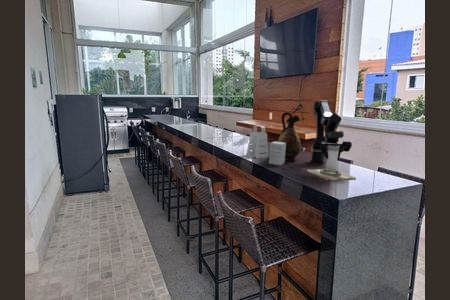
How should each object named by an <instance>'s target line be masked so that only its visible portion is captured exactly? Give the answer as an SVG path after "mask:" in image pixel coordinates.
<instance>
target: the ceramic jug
mask: <svg viewBox="0 0 450 300" xmlns="http://www.w3.org/2000/svg"><path fill="white" fill-rule="evenodd" d="M286 116H289V117H288V118H287V120H286V122H285V117H286ZM301 121H302V120H301V118H300V116H298V115H296V114H295V115H293V114H292V112H290V111H285V112H283V113H282V114H281V122H282V123H281V124H282V130H281V134H280V135H279V137H278V139H277V141H276V142H284V143H286V150H285V161H295V159H296V157H297V156H298V155H299V154H300V153H301V149H302V145H301V140H300V137H299V135H298V132H297V131H296V129H295V126H294V124H296V123H298V122H301ZM286 123H287V126H286Z"/></svg>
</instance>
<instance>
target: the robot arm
mask: <svg viewBox="0 0 450 300" xmlns="http://www.w3.org/2000/svg"><path fill="white" fill-rule="evenodd" d="M312 113H313V114H314V115H315V132H316V133H315V136H316V137H315V139H314V140H313V141H312V142H313V143H312V145H311V148H310V151H311V153H312V154H311V159H309V161H310V162H313V163H314V164H323V163H324V164H325V163H326V161H324V159H325V158H326V160H327V159H328V146H329V145H335V146H339V152H338V159H337V161H338V160H340V156H341V154H342V153H343V152H346V153H347V152H350V150H351V148H352V146H353V143H352V142H351V141H347V140H346V141H345V140H343V141H342V143H339V140H340V139H341V138H342V139H343V138H344V135H345V134H344V131H343V130H342V131H341V130H339V131H337V130H336V129H338V127H339V125H340V124H341V121H342V117H341V116H340V115H338V113H336V112H333V113H332V112H331V109H330V105H329V101H328V100H318V101H315V102H314V103H313V104H312Z"/></svg>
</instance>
